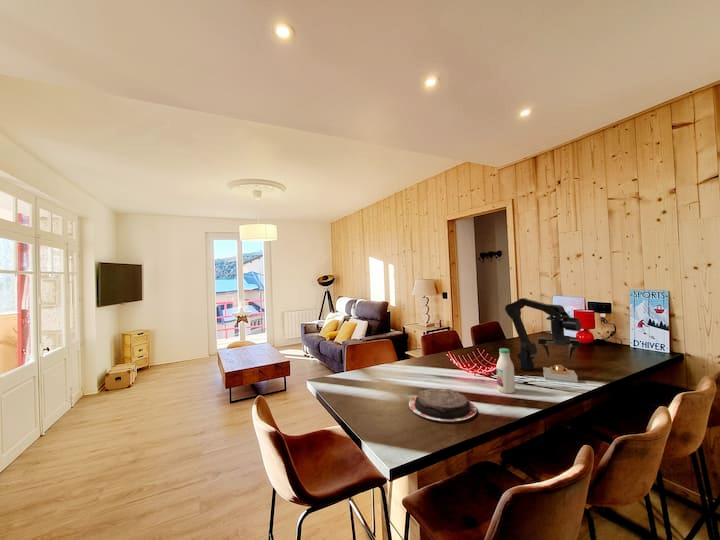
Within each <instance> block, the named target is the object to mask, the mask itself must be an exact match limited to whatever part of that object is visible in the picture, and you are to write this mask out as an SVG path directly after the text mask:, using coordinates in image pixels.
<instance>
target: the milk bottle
mask: <svg viewBox="0 0 720 540" xmlns="http://www.w3.org/2000/svg"><path fill="white" fill-rule="evenodd" d="M498 351H499V357H498V359H497V363H496V384H497V385H496V388H497V391H499V392H501V393H502V394H503V393H505V394H515V392H516V381H515V367H514V366H515V365H514V363H513V361H512V359H511V357H510V355H511V353H510V352H511V351H510V349H509V348H505V347H504V348H503V347H500V348H499V349H498Z"/></svg>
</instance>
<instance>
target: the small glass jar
mask: <svg viewBox="0 0 720 540" xmlns="http://www.w3.org/2000/svg"><path fill="white" fill-rule="evenodd" d="M553 367H555V370H557V371H564V368H565V367H564V365H561V364H554V366H553Z"/></svg>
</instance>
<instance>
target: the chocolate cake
mask: <svg viewBox="0 0 720 540" xmlns="http://www.w3.org/2000/svg"><path fill="white" fill-rule="evenodd" d="M408 407H409V408H410V410H411V411H412V412H413V413H414V414H415V415H417V416H418V417H421V418H422V419H424V420H427V421H430V422H433V421H436V422H438V423H441V424H446V423H453V424H457V423H460V422H461V423H462V422H465V421H466V420H469V419H471V418H473V417H474V416H475V415H476V413H477V407H476V405H475V404H474V403H473V402H472V401H470V400H469V399H468V398H467V397H466V396H465V395H463V394H462V393H461V392H458V391H455V390H454V389H451V388H450V389H449V388H447V389H446V388H428V389H424V390H419V391H418V392H417V395H416V396H413V397H412V398H411V399H410V400H409V401H408Z"/></svg>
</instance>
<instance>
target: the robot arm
mask: <svg viewBox="0 0 720 540" xmlns="http://www.w3.org/2000/svg"><path fill="white" fill-rule="evenodd" d="M525 307H529V308H533V309H536V310H539V311H542V312H544V313H545V314H547V315H548V316H547V317H546V318H545V319H546V320H548V321H550V331H551V333H550V335H551V339H548V338H547V337H541V336H540V337H539V336H538V337H537V344H538V345H540V346H541V347H543V348H544V350H545V351H546V355H547V357H548V358H550V352H549V347H548V344H554V345H555V346H563V347H564V346H566V345H568V359H569V360H571V357H572V355H573V352H574V351H575V350H576V349H578V347H579V348H581V347H582V346H581V345H582V343H581V341H580V340H579V339H576V338H574V339H573V338H571V337H570V336H569V335H565V331H573V332H580V331H581V330H582V326H583V325H582V323H581V320H579V319H580V318H579V317H570V315H569V314H568V312H567V311H566V309H565V307H564V306H563V305H560V304H549V303H548V304H547V303H544V302H540V301H537V300H532V299H528V298H525V297H523V298H522V297H521V298H519V299H518V300H516V301H514V302H511V303H508V304H506V306H505V307H504V311H505V312H506V314H507V316H508V317H509V318H510V319H511V321H512V323H513V325H514V328H515V330H516V333H517V336H518V338H519V341H520V345H519V346H520V347H519V350H520V352H519V353H518V354H517V355H516V356H517V357H516V358H517V360H519V364H520V366H519V369H520V371H527V372H534V370H535V366H534V365H535V364H534V363H535V362H534V361H533V359H535V357H536V356H537V355H538V350H539V349H538V348H537V345H536V343H535V342H531V340H530V339H529V338H530V337H529V336H528V334H527V330H526V328H525V325H524V323H523V320H522V309H524V308H525Z"/></svg>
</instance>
